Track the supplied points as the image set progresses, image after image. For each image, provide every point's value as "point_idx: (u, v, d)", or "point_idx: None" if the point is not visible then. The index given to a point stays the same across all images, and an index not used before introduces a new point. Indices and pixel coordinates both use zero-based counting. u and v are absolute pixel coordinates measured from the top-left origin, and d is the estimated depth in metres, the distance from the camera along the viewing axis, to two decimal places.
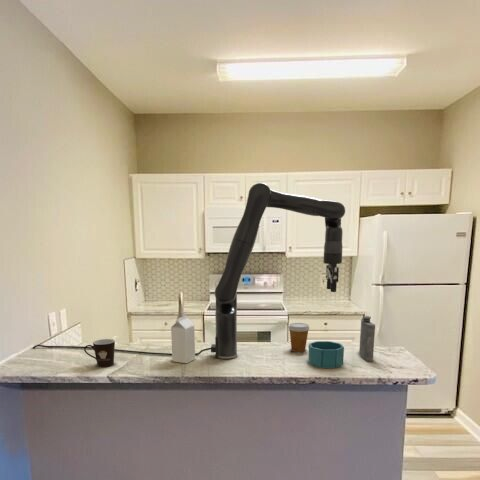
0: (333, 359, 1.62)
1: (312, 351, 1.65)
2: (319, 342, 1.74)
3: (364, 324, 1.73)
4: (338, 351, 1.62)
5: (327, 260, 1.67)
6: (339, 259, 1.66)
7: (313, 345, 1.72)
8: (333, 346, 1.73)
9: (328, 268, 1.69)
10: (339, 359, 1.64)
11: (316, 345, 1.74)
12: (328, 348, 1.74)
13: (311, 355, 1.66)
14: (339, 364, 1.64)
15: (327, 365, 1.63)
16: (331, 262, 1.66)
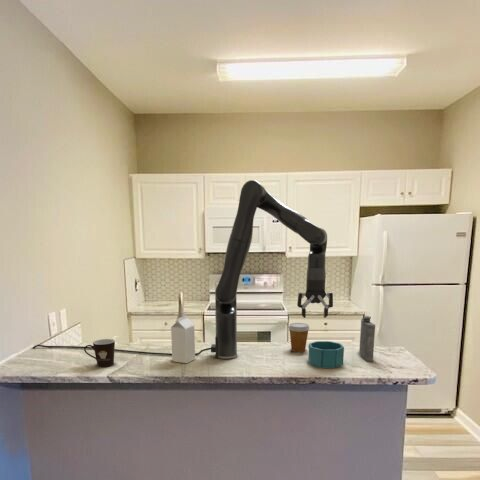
0: (333, 359, 1.62)
1: (312, 351, 1.65)
2: (319, 342, 1.74)
3: (364, 324, 1.73)
4: (338, 351, 1.62)
5: None
6: (309, 286, 1.62)
7: (313, 345, 1.72)
8: (333, 346, 1.73)
9: None
10: (339, 359, 1.64)
11: (316, 345, 1.74)
12: (328, 348, 1.74)
13: (311, 355, 1.66)
14: (339, 364, 1.64)
15: (327, 365, 1.63)
16: None
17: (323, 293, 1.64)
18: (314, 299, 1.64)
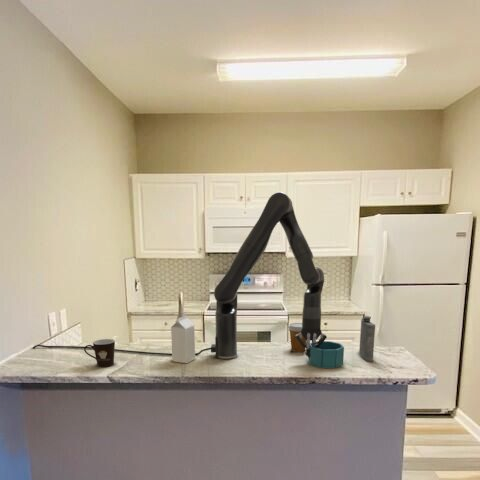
0: (333, 359, 1.62)
1: (312, 351, 1.65)
2: None
3: (364, 324, 1.73)
4: (338, 351, 1.62)
5: None
6: (304, 324, 1.64)
7: None
8: (333, 346, 1.73)
9: None
10: (339, 359, 1.64)
11: None
12: (328, 348, 1.74)
13: (311, 355, 1.66)
14: (339, 364, 1.64)
15: (327, 365, 1.63)
16: None
17: (318, 331, 1.66)
18: (311, 335, 1.66)
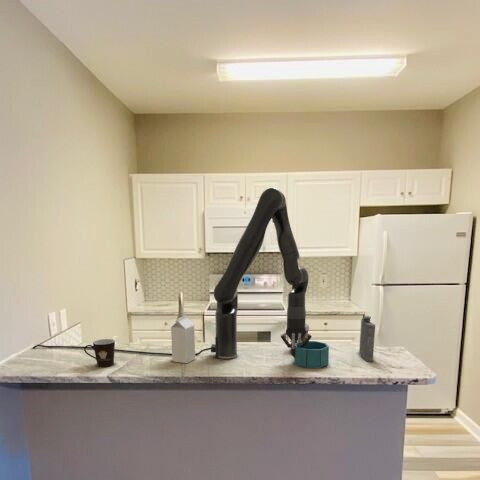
0: (318, 359, 1.62)
1: (297, 351, 1.65)
2: None
3: (364, 324, 1.73)
4: (323, 351, 1.63)
5: None
6: (289, 324, 1.64)
7: None
8: (318, 346, 1.73)
9: None
10: (324, 359, 1.64)
11: None
12: (314, 348, 1.74)
13: (296, 355, 1.66)
14: (324, 364, 1.65)
15: (312, 365, 1.63)
16: None
17: (303, 331, 1.66)
18: (296, 335, 1.66)
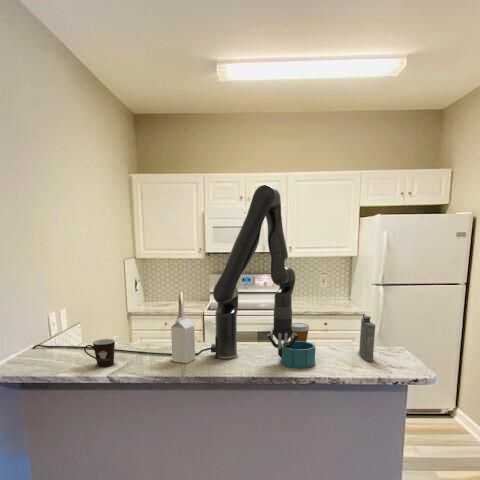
0: (304, 359, 1.62)
1: (283, 351, 1.65)
2: None
3: (364, 324, 1.73)
4: (309, 351, 1.63)
5: None
6: (275, 324, 1.64)
7: None
8: (306, 346, 1.73)
9: None
10: (310, 359, 1.64)
11: None
12: (301, 348, 1.74)
13: (282, 355, 1.66)
14: (310, 364, 1.65)
15: (298, 365, 1.63)
16: None
17: (289, 331, 1.66)
18: (283, 335, 1.66)
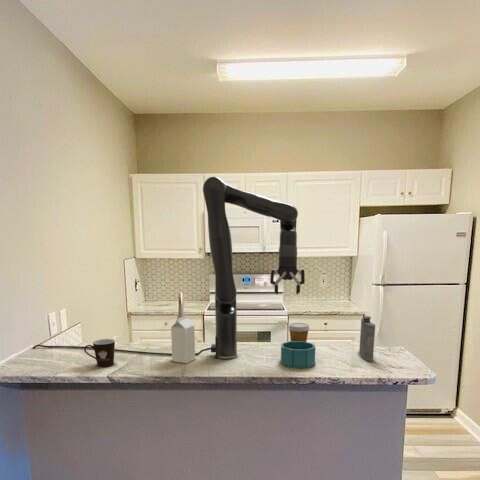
0: (304, 359, 1.62)
1: (283, 351, 1.65)
2: (292, 342, 1.74)
3: (364, 324, 1.73)
4: (309, 351, 1.63)
5: None
6: (280, 262, 1.66)
7: (285, 345, 1.72)
8: (306, 346, 1.73)
9: None
10: (310, 359, 1.64)
11: (289, 345, 1.74)
12: (301, 348, 1.74)
13: (282, 355, 1.66)
14: (310, 364, 1.65)
15: (298, 365, 1.63)
16: None
17: (294, 270, 1.67)
18: (286, 276, 1.68)
